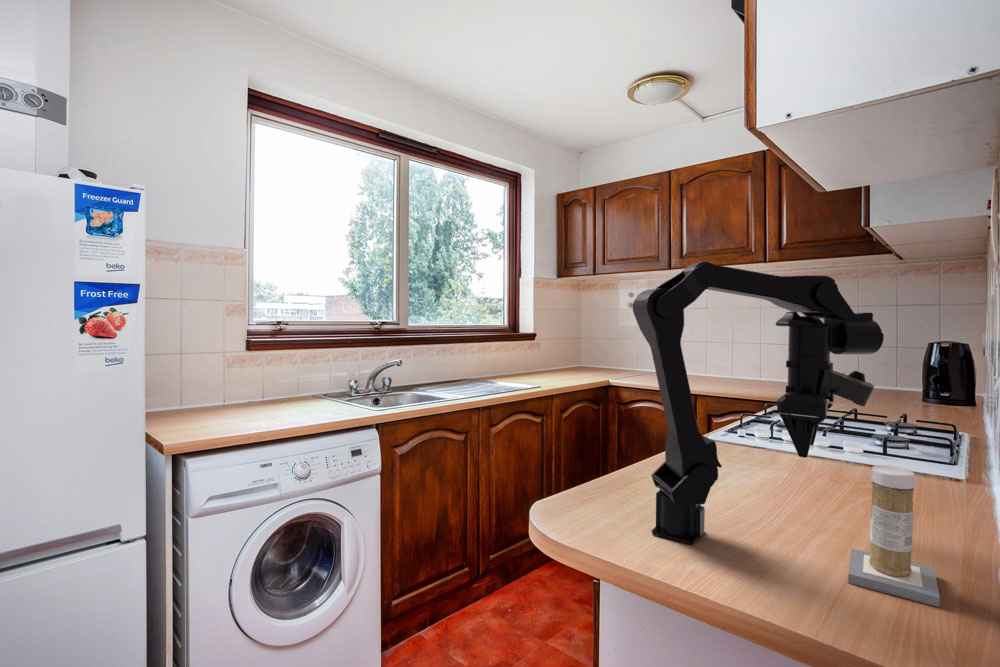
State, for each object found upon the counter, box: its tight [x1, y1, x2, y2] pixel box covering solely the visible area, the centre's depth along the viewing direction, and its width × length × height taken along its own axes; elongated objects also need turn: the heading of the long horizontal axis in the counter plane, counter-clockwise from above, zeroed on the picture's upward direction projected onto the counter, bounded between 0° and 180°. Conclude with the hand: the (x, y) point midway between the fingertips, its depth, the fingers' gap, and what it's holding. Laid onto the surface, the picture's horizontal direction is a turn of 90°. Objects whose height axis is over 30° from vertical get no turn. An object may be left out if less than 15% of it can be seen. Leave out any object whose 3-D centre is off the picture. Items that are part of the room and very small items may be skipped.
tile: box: [847, 547, 941, 608], centre depth 66 cm, size 9×9×1 cm
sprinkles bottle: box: [869, 464, 916, 576], centre depth 66 cm, size 5×5×13 cm
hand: (806, 450), depth 81 cm, fingers open, 9 cm apart
